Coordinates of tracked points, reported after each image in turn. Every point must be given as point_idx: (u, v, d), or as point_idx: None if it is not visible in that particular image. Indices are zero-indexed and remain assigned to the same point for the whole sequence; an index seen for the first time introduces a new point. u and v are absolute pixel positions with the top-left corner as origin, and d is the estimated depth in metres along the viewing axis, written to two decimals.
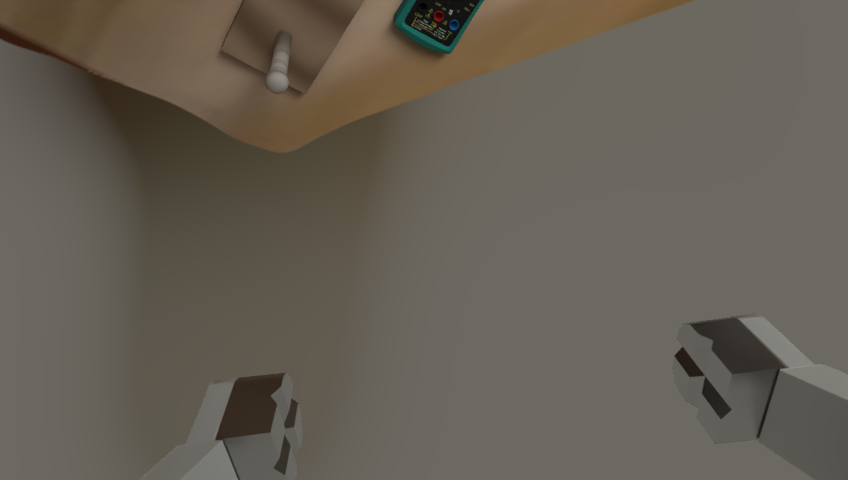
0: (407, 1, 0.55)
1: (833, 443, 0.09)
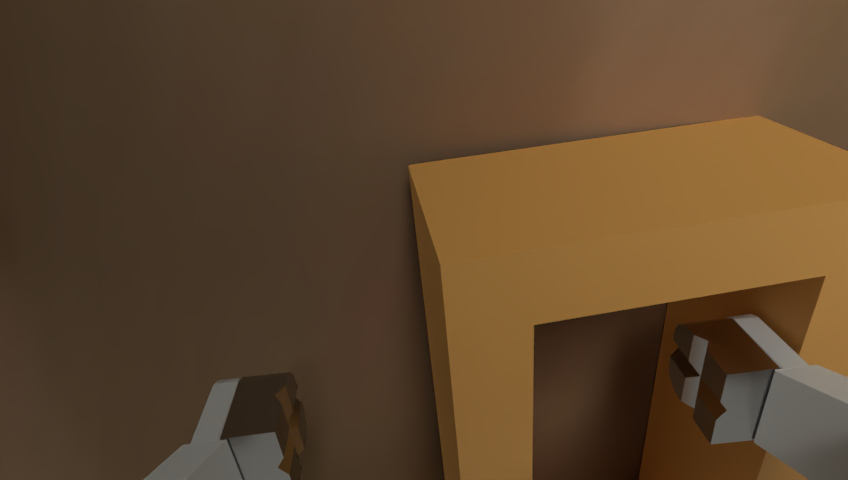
0: None
1: (828, 444, 0.09)
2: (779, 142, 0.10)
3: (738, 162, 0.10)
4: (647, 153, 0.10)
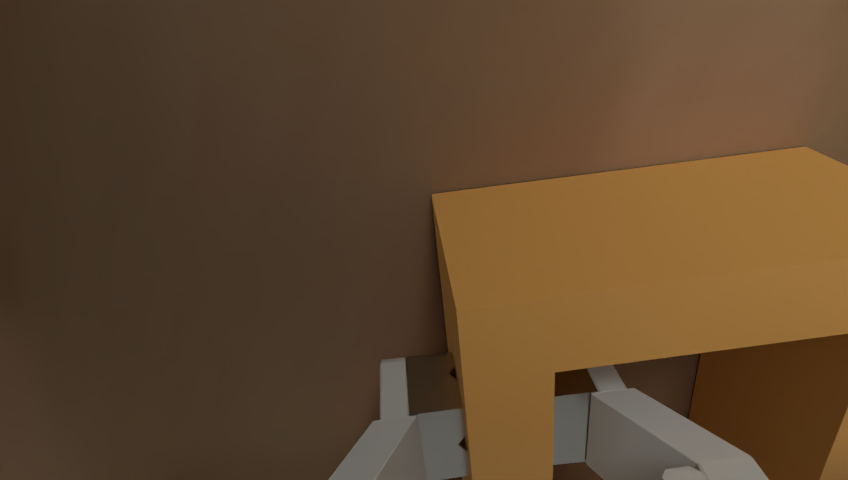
0: None
1: (637, 468, 0.09)
2: (829, 180, 0.10)
3: (783, 200, 0.09)
4: (682, 188, 0.10)
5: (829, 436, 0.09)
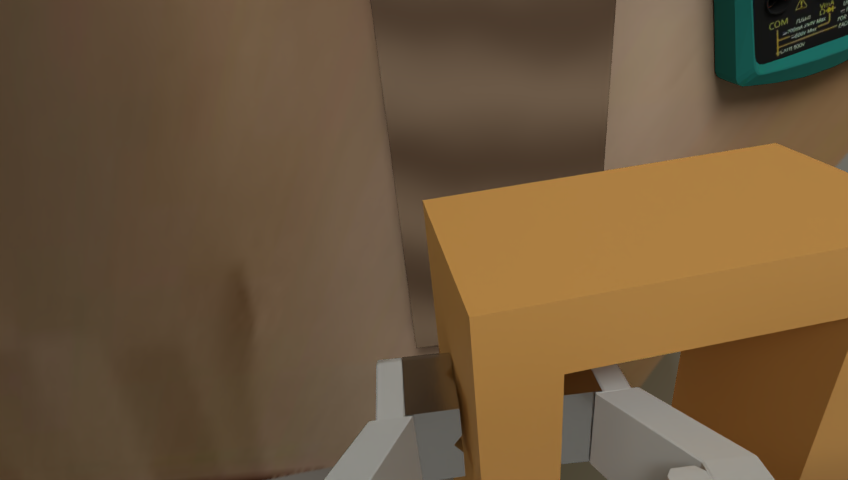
0: (731, 25, 0.23)
1: (641, 468, 0.09)
2: (803, 174, 0.10)
3: (765, 196, 0.09)
4: (669, 186, 0.10)
5: (815, 419, 0.10)
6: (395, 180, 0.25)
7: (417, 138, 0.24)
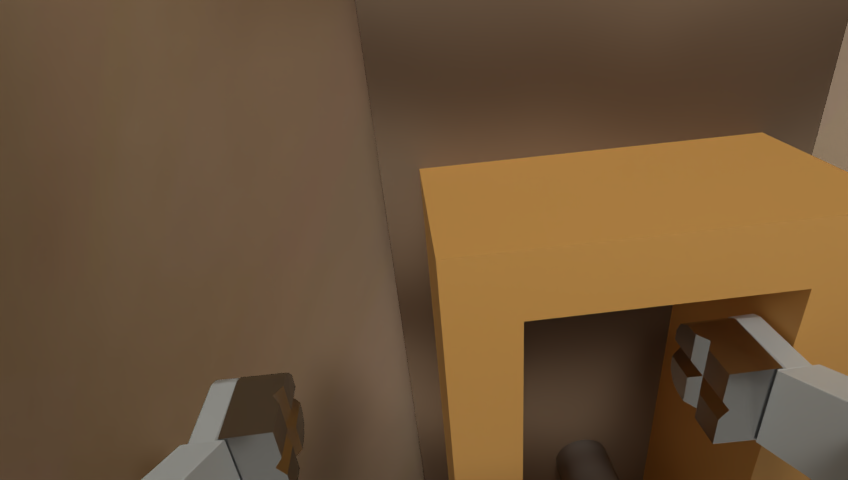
0: None
1: (830, 443, 0.09)
2: (777, 159, 0.11)
3: (733, 176, 0.10)
4: (647, 165, 0.11)
5: None
6: (408, 351, 0.14)
7: None
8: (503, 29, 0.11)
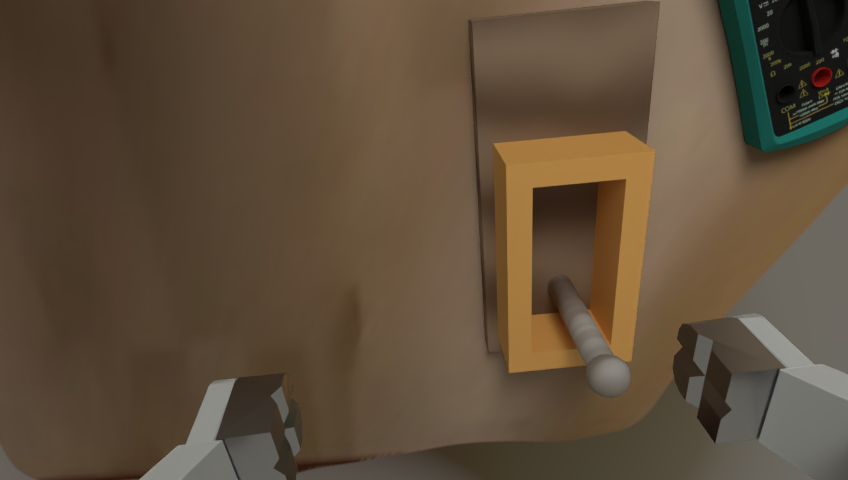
0: (752, 111, 0.31)
1: (833, 443, 0.09)
2: (624, 139, 0.30)
3: (605, 144, 0.29)
4: (577, 141, 0.30)
5: (621, 220, 0.29)
6: (483, 224, 0.33)
7: None
8: (526, 92, 0.30)
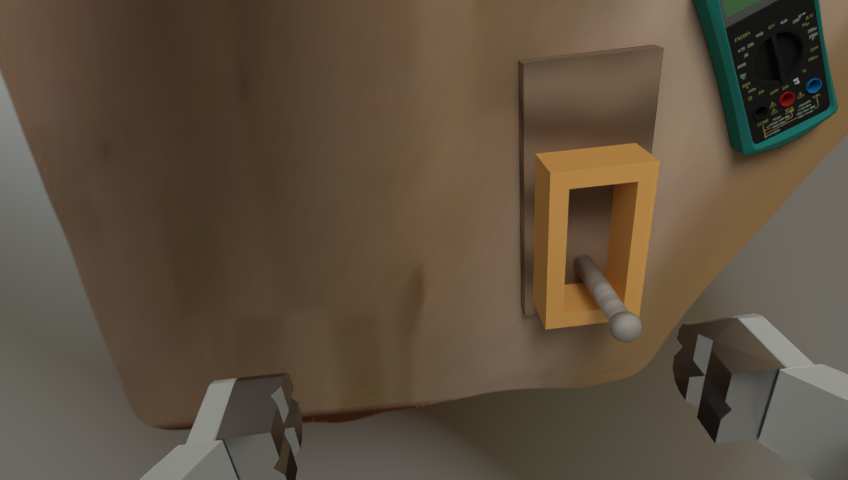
0: (736, 126, 0.41)
1: (833, 443, 0.09)
2: (635, 150, 0.39)
3: (622, 155, 0.39)
4: (600, 152, 0.39)
5: (634, 212, 0.39)
6: (525, 215, 0.43)
7: None
8: (561, 115, 0.39)
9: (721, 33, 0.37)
